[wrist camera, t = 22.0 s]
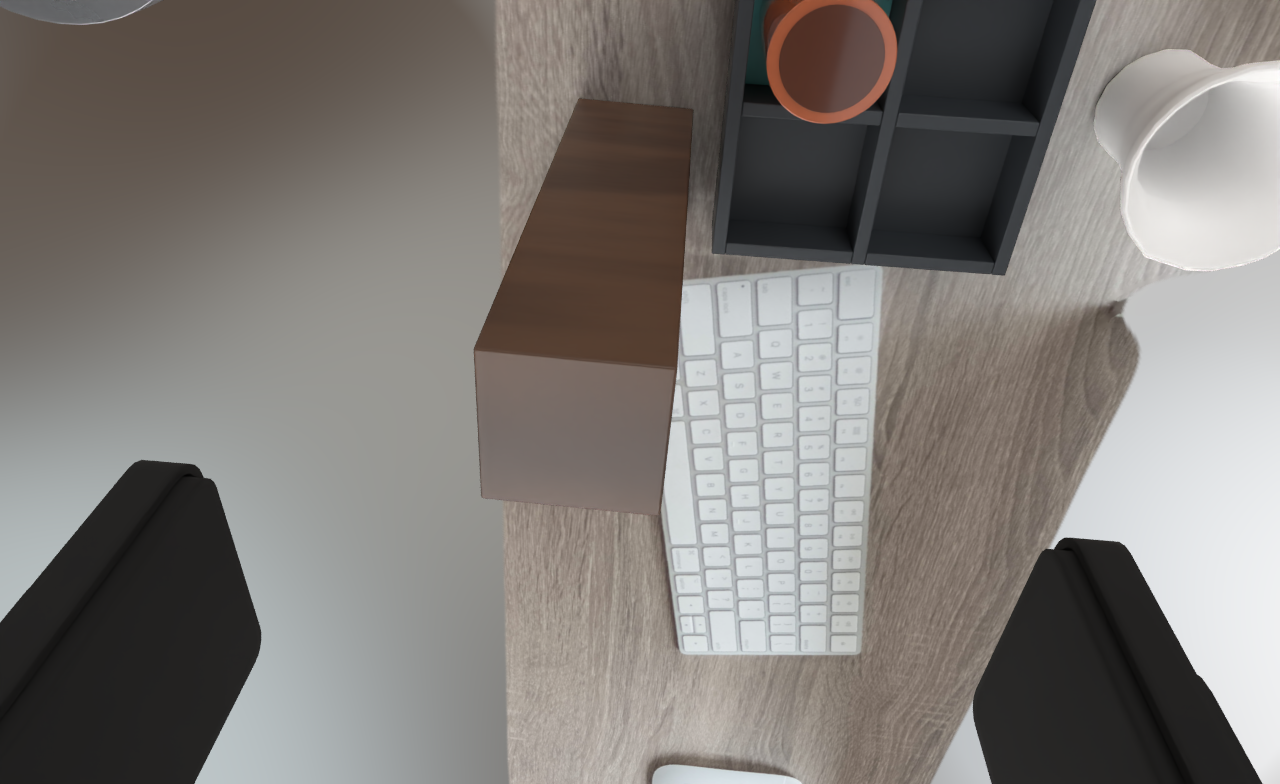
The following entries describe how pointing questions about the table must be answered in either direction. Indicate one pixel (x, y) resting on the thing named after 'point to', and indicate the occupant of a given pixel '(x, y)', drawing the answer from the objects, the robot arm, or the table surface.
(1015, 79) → the divided tray
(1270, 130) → the cup
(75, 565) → the robot arm
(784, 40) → the tumbler
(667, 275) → the brown wooden block
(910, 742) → the table surface
